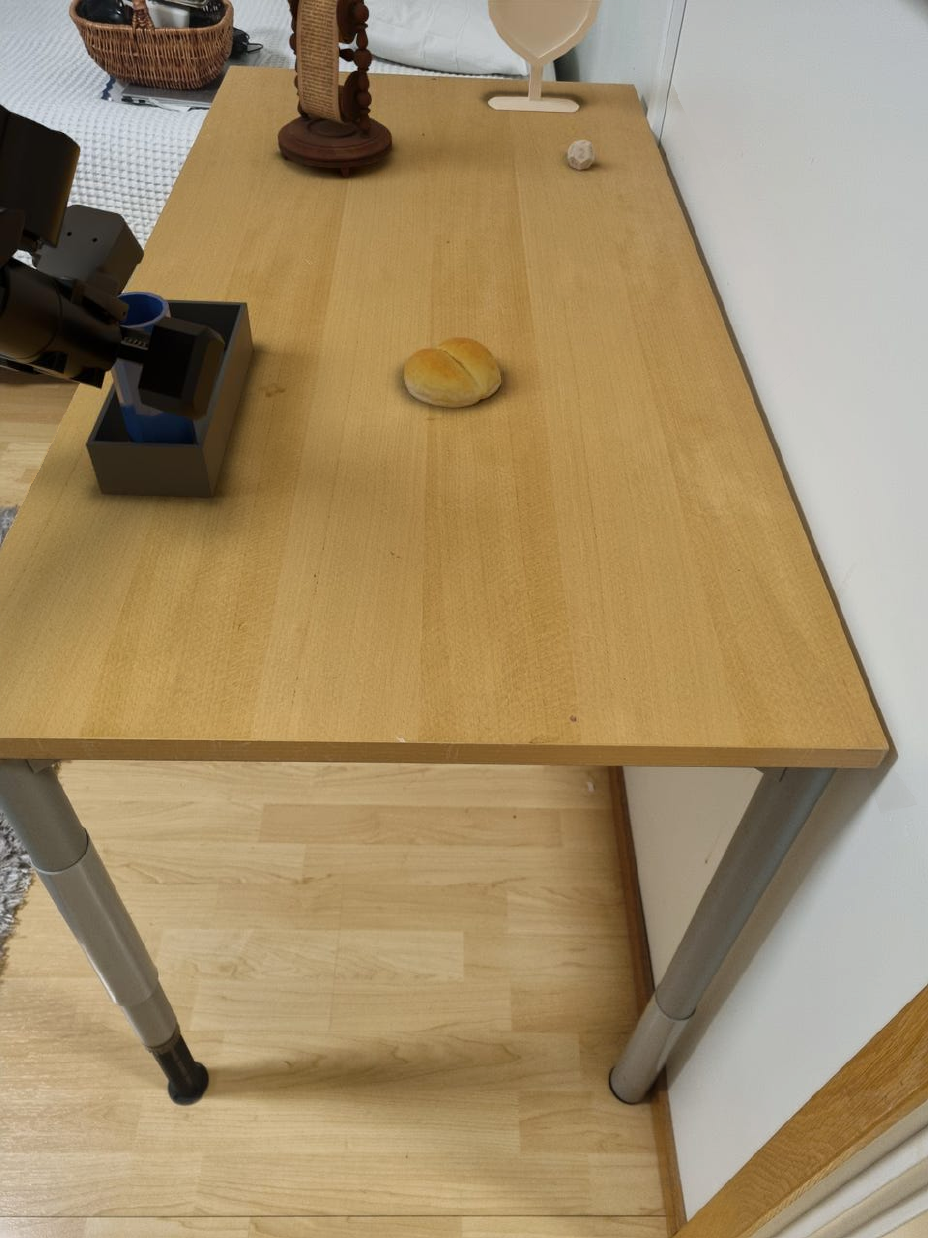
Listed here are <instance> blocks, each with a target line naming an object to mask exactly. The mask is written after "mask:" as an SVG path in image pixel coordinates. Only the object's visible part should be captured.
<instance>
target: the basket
mask: <svg viewBox="0 0 928 1238" xmlns="http://www.w3.org/2000/svg"><path fill="white" fill-rule="evenodd" d="M164 299H165V298H164ZM165 300H166V301H167V302H168V306H169V310H170V315H171V318H175V319H179V320H183V321H187V322H191V323H195V324H199V325H203V326H207V327H209V328H211V329H212V330H214V331H215V332H217V333H219V334H220V335H221V337H222V339H223V341H224V343H225V346H224V350H223V354H222V358H221V361H220V365H219V369H218V373H217V377H216V380H215V384H214V388H213V392H212V396H211V399H210V403H209V407H208V411H207V415H206V416H204V417H203V418H201V419H199V420H198V421H196V420H193V423H194V427H195V432H196V437H197V441H198V445H197V444H166V443H136V442H130V438H129V435H128V431H127V428H126V424H125V420H124V417H123V413H122V410H121V406H120V402H119V399H118V395H117V392H116V388H115V385H114V381H112V384H111V386H110V388H109V391H108V393H107V395H106V397H105V400H104V402H103V404H102V407H101V408H100V411H99V413H98V415H97V417H96V420H95V422H94V424H93V427H92V429H91V431H90V434H89V436H88V438H87V441H86V442H85V447H86V451H87V453H88V456H89V459H90V462H91V466H92V468H93V471H94V475H95V478H96V481H97V484H98V488H99V491H100V492H101V495H122V496H123V495H125V496H127V495H128V496H154V497H155V496H156V497H158V496H159V497H186V498H187V497H188V498H189V497H190V498H213V497H214V494H215V490H216V487H217V483H218V481H219V480H218V479H219V477H220V472H221V468H222V465H223V461H224V458H225V454H226V450H227V446H228V443H229V441H230V436H231V433H232V429H233V426H234V422H235V418H236V414H237V411H238V407H239V403H240V400H241V396H242V393H243V390H244V386H245V382H246V379H247V375H248V371H249V369H250V368H249V367H250V363H251V361H252V356H253V353H254V351H255V350H254V342H253V336H252V335H253V334H252V329H251V322H250V314H249V307H248V303H247V302H246V301H245V302H243V301H240V302H239V301H219V300H218V301H216V300H193V299H191V300H189V299H168V298H167V299H165Z"/></svg>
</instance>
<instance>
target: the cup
mask: <svg viewBox="0 0 928 1238" xmlns="http://www.w3.org/2000/svg"><path fill="white" fill-rule="evenodd" d="M117 298H118V299H119V300H121V301H123V302H125V303H127V304H128V305H129V308H128V312H127V316H126V320H125V322H124V323H122V322H118V325H120V326H124V327H128V328H131V329H135V330H139V331H143V332H147V333H152V330H153V326H154V324H155V323H156V322H158V321H159V320H160V319H161V318H162V317H163V316H167V317H171V315H170V310H169V306H168V302H167V301H166V300H165V298H164V297H163V296H161V295H159V294H157V293H153V292H149V291H137V290H135V291H126V292H122V293H121V294H120V295H119V296H117ZM121 344H125V345H129V346H133V347H137V348H141V349H144V350H147V349H148V346H147V348H145V347H143V345H142V347H140V346H138V344H137V345H134V344H133V343H132V344H130V343H128V342H127V343H125V342H123V341H122V342H121ZM142 368H143V366H140V365H136V364H132V363H128V362H125V361H121V360H117V361H116V362H115V364H114V366H113V367H112V368H111V370H110V374H111V377H112V380H113V381H114V385H115V388H116V392H117V395H118V399H119V402H120V406H121V410H122V413H123V417H124V420H125V424H126V428H127V431H128V435H129V438H130V442H136V443H166V444H197V445H198V441H197V437H196V432H195V427H194V423H193V420H192V419H189V418H185V417H181V416H178V415H174V414H170V413H167V412H164V411H160V410H157V409H154V408H151V407H148V406H146V405H143V404H141V400H140V396H139V392H138V384H139V380H140V376H141V372H142ZM113 381H112V382H113Z"/></svg>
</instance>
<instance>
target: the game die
mask: <svg viewBox="0 0 928 1238" xmlns="http://www.w3.org/2000/svg"><path fill="white" fill-rule="evenodd" d="M595 157H596V150H595V148H594V146H593V143H592V142H590V141H588V140H586V139H579V140H575V141H573V143H571V145H570V147H568V149H567V160H568V163H569V165H570V167H571V168H572V169H575V170H577V171H583V170H587V169H589V168H590V167H591V165H592V164H593V163H594V161H595Z"/></svg>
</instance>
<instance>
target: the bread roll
mask: <svg viewBox="0 0 928 1238" xmlns="http://www.w3.org/2000/svg"><path fill="white" fill-rule="evenodd" d="M403 379H404V384H405V387H406V389H407V391H408V393H409V394H410V395H411V396H413V397H414V399H416V400H419V401H421V402H422V403H425V404H429V405H432V406H436V407H441V408H449V409H452V408H453V409H455V408H463V407H469V406H472V405H474V404H477V403H478V402H479V401H480V400H485V399H488V398H489V397H490V396H492V395H493V394H494V393H496V392H497V391H498V389H499V388H500V386H501V384H502V376H501V370H500V367H499V364H498V362H497V360H496V358H495V356H494V355H493V353H492V352H491V351H490V350H489V349H488V347H487V346H485V345H484V344H483V343H481V342H479V341H477V340H476V339H473V338H470V337H460V336H457V337H456V336H455V337H450V338H448V339H446V340H445V341H443V342H441V343H440V344H438V346H436V348H433V347H431V348H422V349H419V350H416V351H415V352H414V353H413V354H411V356H409V358H408V359H407V361H406V363H405V365H404V368H403Z"/></svg>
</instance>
